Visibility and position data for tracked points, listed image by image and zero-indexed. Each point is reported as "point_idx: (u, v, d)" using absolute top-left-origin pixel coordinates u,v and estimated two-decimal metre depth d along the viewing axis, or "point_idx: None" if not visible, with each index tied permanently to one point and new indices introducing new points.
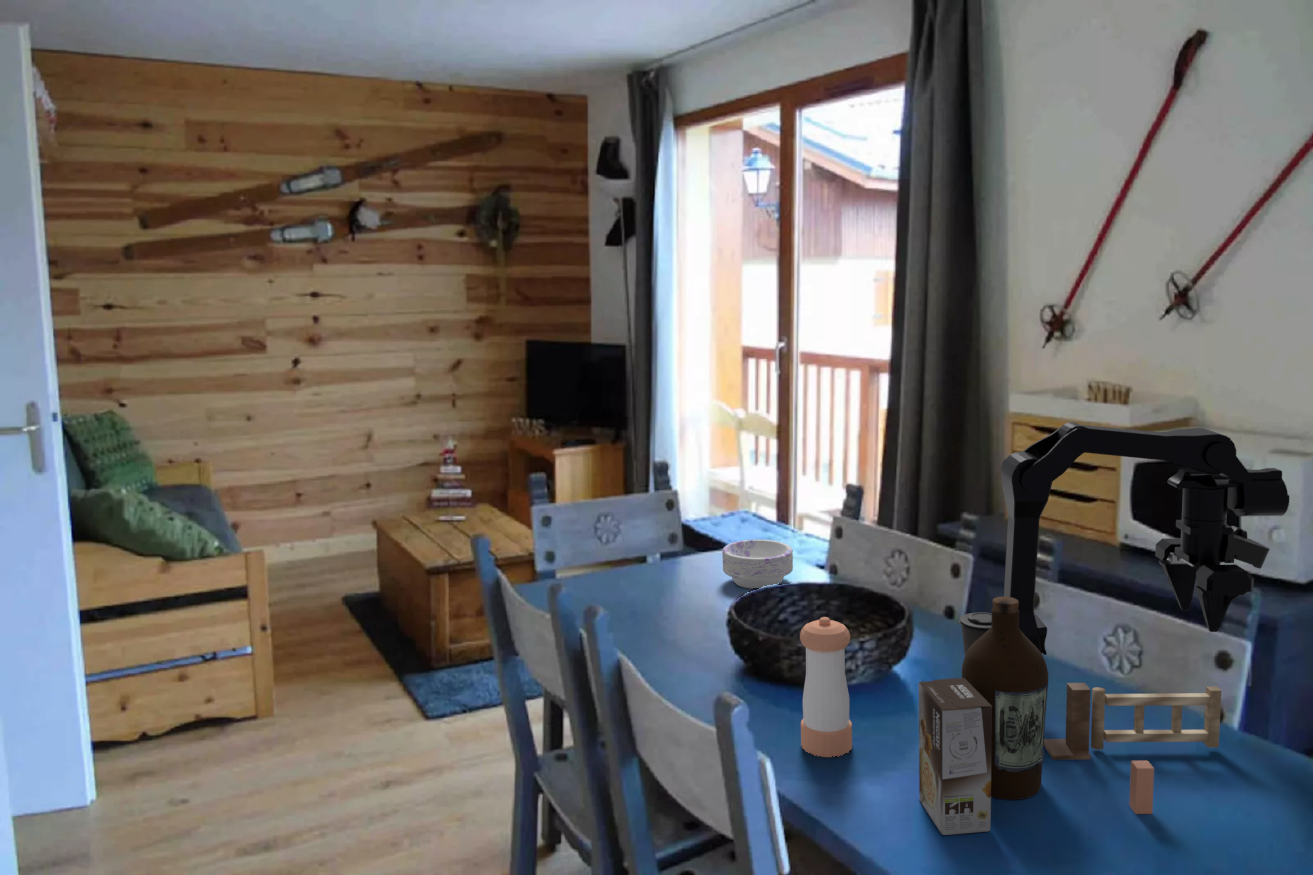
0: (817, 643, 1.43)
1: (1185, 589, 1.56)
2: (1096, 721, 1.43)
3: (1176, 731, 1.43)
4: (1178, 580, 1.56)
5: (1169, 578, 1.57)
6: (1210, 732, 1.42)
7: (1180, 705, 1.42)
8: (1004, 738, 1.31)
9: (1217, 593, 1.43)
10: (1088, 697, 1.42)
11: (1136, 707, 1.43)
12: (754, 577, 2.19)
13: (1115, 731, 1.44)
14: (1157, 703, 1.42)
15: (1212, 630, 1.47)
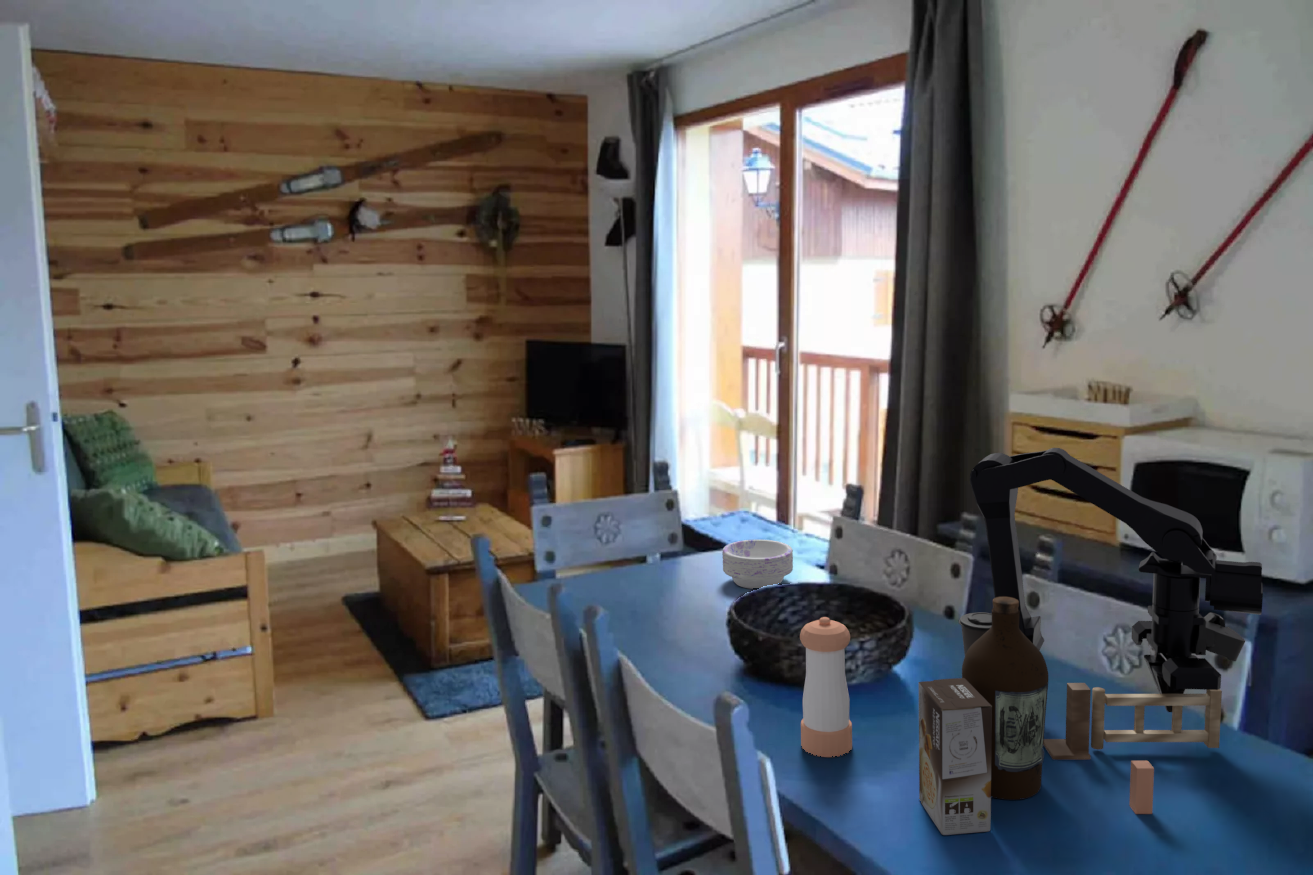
0: (817, 643, 1.43)
1: None
2: (1096, 721, 1.43)
3: (1176, 731, 1.42)
4: None
5: (1153, 676, 1.46)
6: (1210, 732, 1.42)
7: (1180, 705, 1.42)
8: (1004, 738, 1.31)
9: None
10: (1088, 697, 1.42)
11: (1136, 707, 1.43)
12: (754, 577, 2.19)
13: (1115, 731, 1.44)
14: (1157, 703, 1.42)
15: (1170, 710, 1.45)
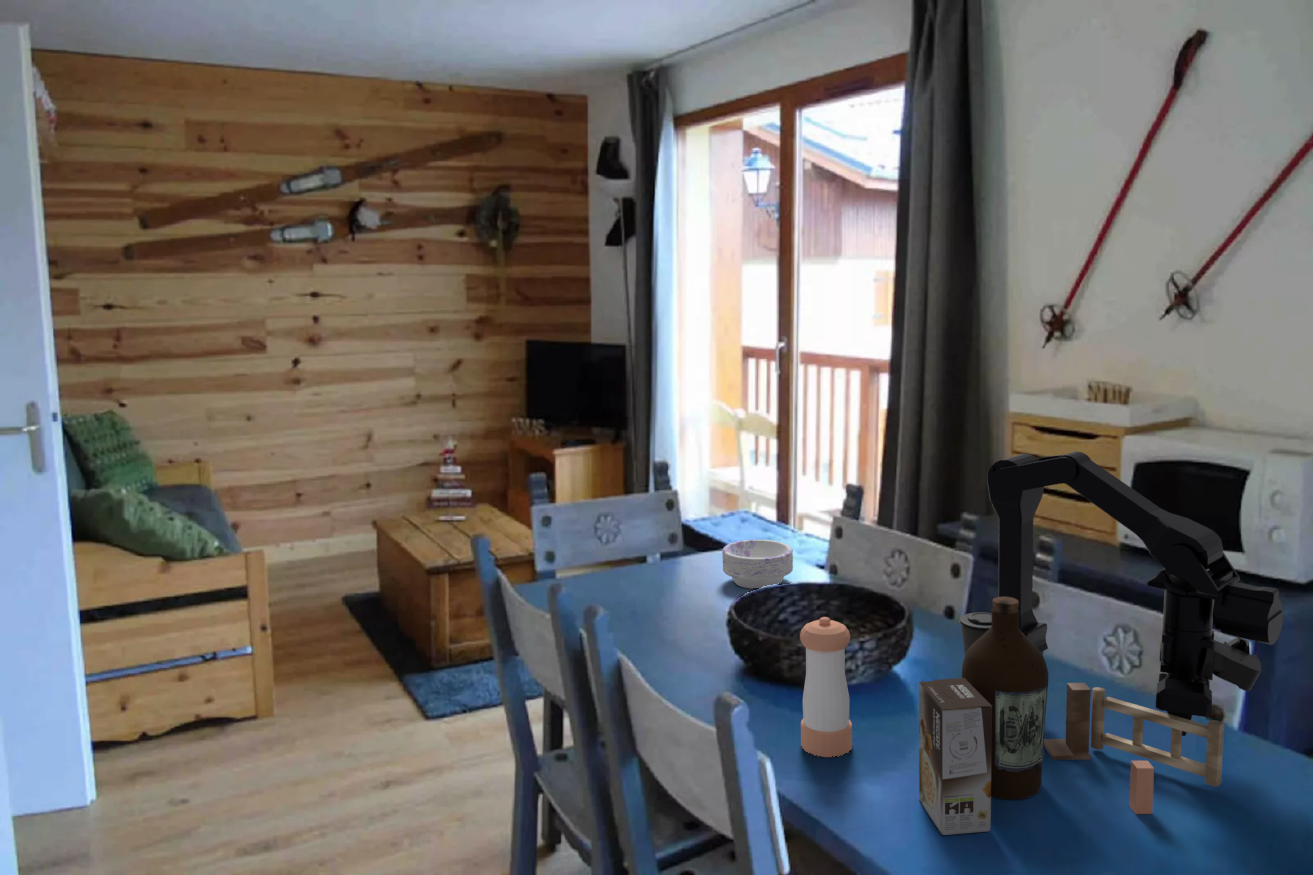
0: (817, 643, 1.43)
1: None
2: (1092, 719, 1.43)
3: (1173, 755, 1.36)
4: None
5: None
6: (1207, 768, 1.32)
7: (1177, 729, 1.35)
8: (1004, 738, 1.31)
9: None
10: (1088, 697, 1.42)
11: None
12: (754, 577, 2.19)
13: (1115, 737, 1.42)
14: (1152, 719, 1.37)
15: None
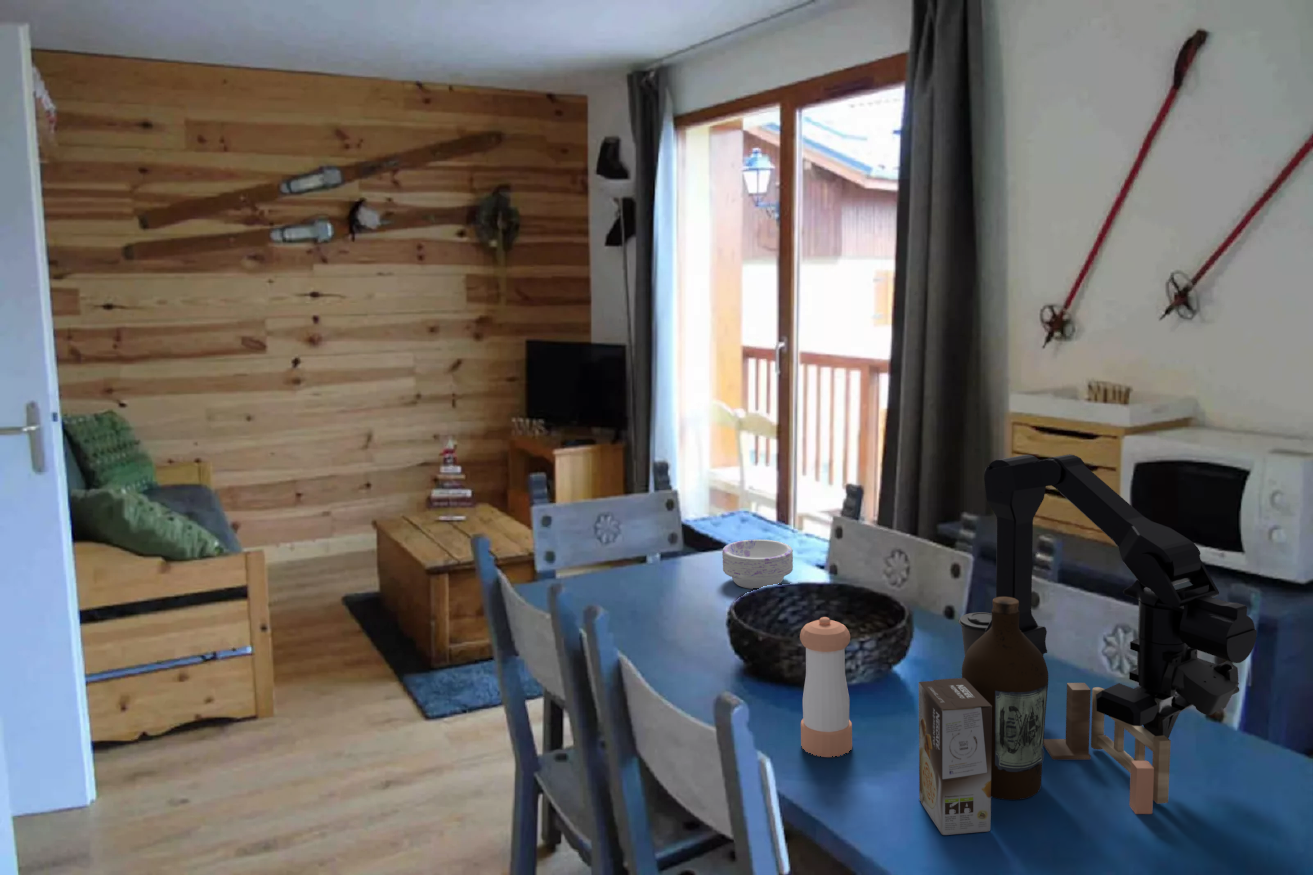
0: (817, 643, 1.43)
1: None
2: None
3: None
4: None
5: None
6: None
7: (1137, 739, 1.33)
8: (1004, 738, 1.31)
9: None
10: (1088, 697, 1.42)
11: None
12: (754, 577, 2.19)
13: (1107, 739, 1.41)
14: (1123, 726, 1.36)
15: None
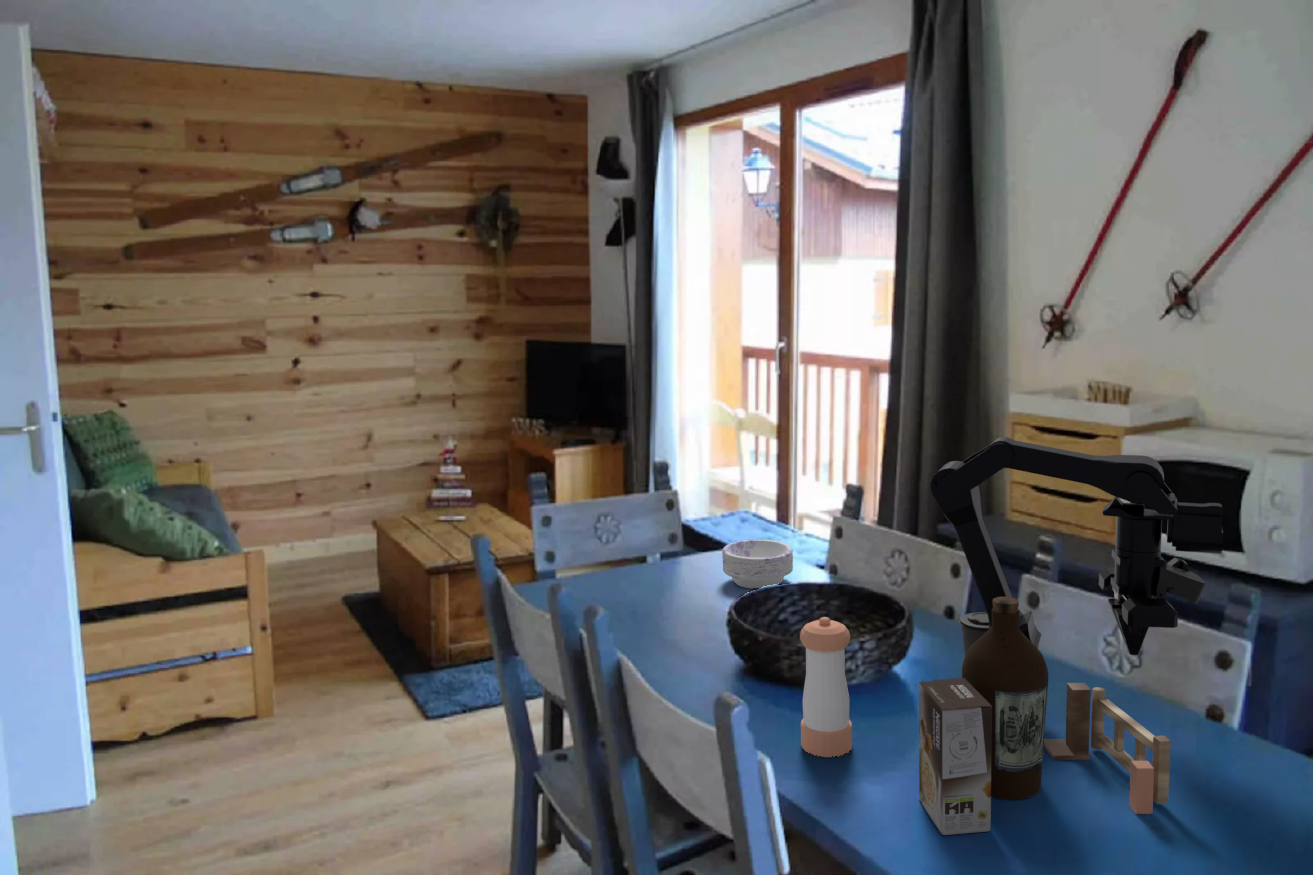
0: (817, 643, 1.43)
1: None
2: None
3: None
4: None
5: (1116, 619, 1.48)
6: None
7: (1137, 739, 1.33)
8: (1004, 738, 1.31)
9: None
10: (1088, 697, 1.42)
11: None
12: (754, 577, 2.19)
13: (1107, 739, 1.41)
14: (1123, 726, 1.36)
15: (1132, 653, 1.47)
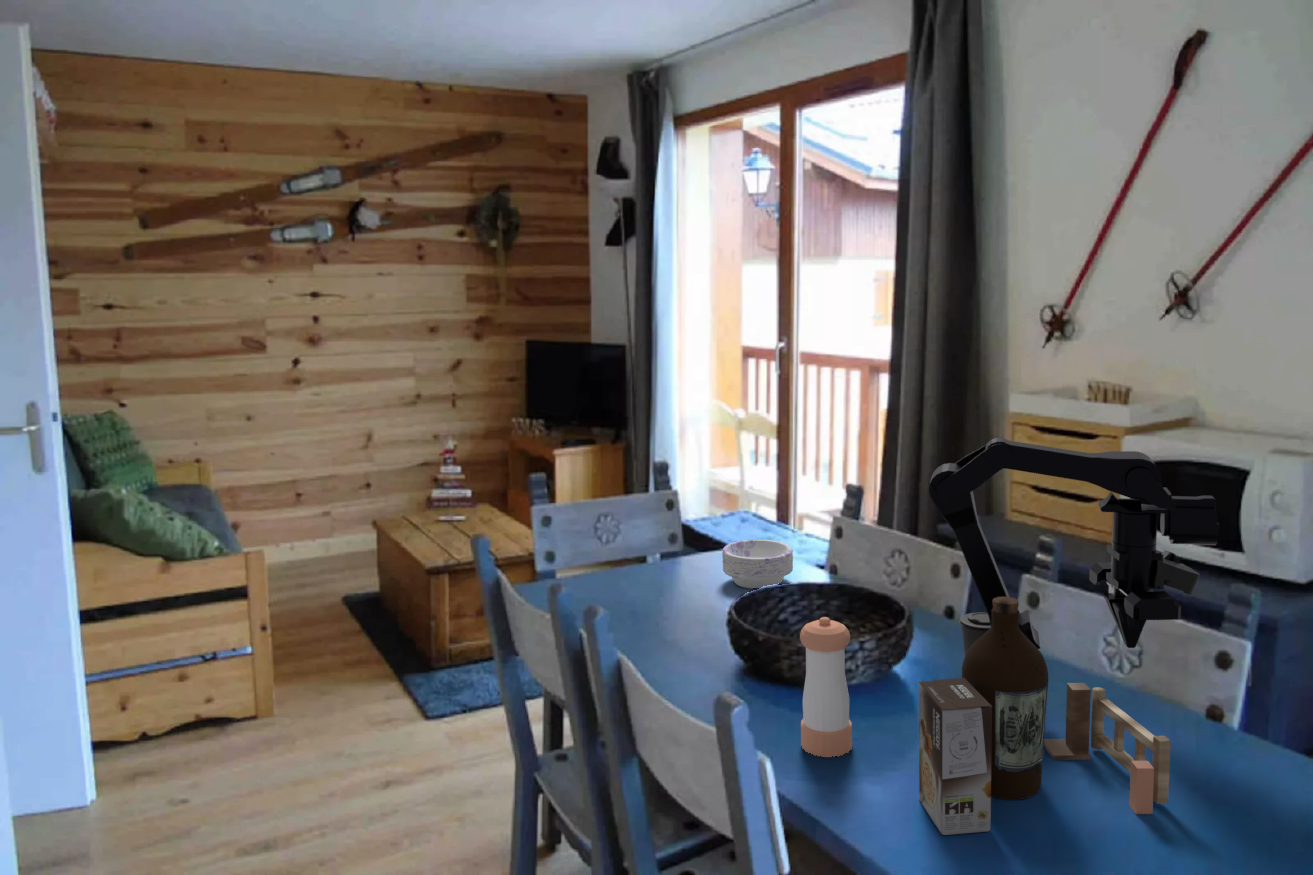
0: (817, 643, 1.43)
1: None
2: None
3: None
4: None
5: (1113, 613, 1.50)
6: None
7: (1137, 739, 1.33)
8: (1004, 738, 1.31)
9: None
10: (1088, 697, 1.42)
11: None
12: (754, 577, 2.19)
13: (1107, 739, 1.41)
14: (1123, 726, 1.36)
15: (1130, 646, 1.49)
